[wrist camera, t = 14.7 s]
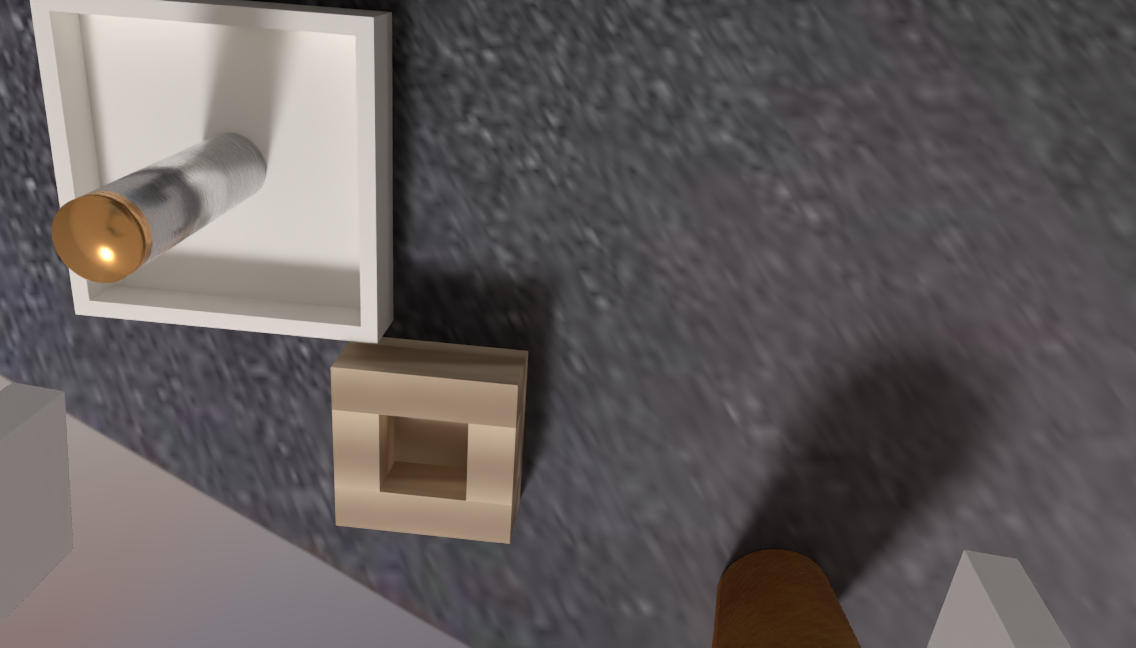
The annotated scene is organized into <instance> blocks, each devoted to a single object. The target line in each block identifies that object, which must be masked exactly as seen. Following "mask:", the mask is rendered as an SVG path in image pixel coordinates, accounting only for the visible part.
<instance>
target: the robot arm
mask: <svg viewBox="0 0 1136 648" xmlns="http://www.w3.org/2000/svg"><path fill="white" fill-rule="evenodd" d="M72 549H73V532H72V516H71V497H70V480H69V463H68V446H67V428H66V411H65V394H64V391H59V390H53V389H47V388H42V387H36V386H30V385H25V384H19V383H11V384H10V385H8V386H7V387H5V388H4V389H3V390H1V391H0V624H1V623H2V622H3V621H4V620H5V619H6V618H7V617H8V616H9V615H10V614H11V613H12V612H13V611H14V610H15V609H16V607H18V605H19V604H20V603H21V602H22V601H23V600H24V599H25V598H26V597H27V596H28V595H29V594H30V593H31V592H32V591H33V590H34V589H35V588H36V587H37V586H38V585H39V583H41V582H42V580H43V579H44V578H45V577H46V576H47V575H48V574H49V573H50V572H51V571H52V570H53V569H54V568H55V567H56V566H57V565H58V564H59V563H60V561H62V560H63V559H64V558H65V557H66V555H67V554H68V553H69V552H70V551H71V550H72ZM927 648H1071V647H1070V645H1069V644H1068V642H1067V640H1066V639H1065V637H1064V635H1063V634H1062V632H1061V630H1060V629H1059V627H1058V625H1057V624H1056V622H1055V620H1054V619H1053V617H1052V615H1051V614H1050V612H1049V611H1048V609H1047V607H1046V606H1045V604H1044V602H1043V601H1042V599H1041V597H1040V596H1039V594H1038V592H1037V591H1036V589H1035V587H1034V586H1033V584H1032V582H1031V581H1030V579H1029V577H1028V576H1027V574H1026V572H1025V571H1024V569H1023V567H1022V566H1021V564H1020V563H1019V561H1018V559H1014V558H1008V557H1002V556H997V555H991V554H985V553H980V552H974V551H968V550H964V551H963V554H962V557H961V559H960V562H959V565H958V567H957V570H956V572H955V575H954V578H953V580H952V583H951V586H950V588H949V591H948V594H947V596H946V599H945V601H944V604H943V607H942V609H941V612H940V615H939V617H938V620H937V622H936V625H935V628H934V630H933V633H932V636H931V638H930V641H929V644H928V646H927Z"/></svg>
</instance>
